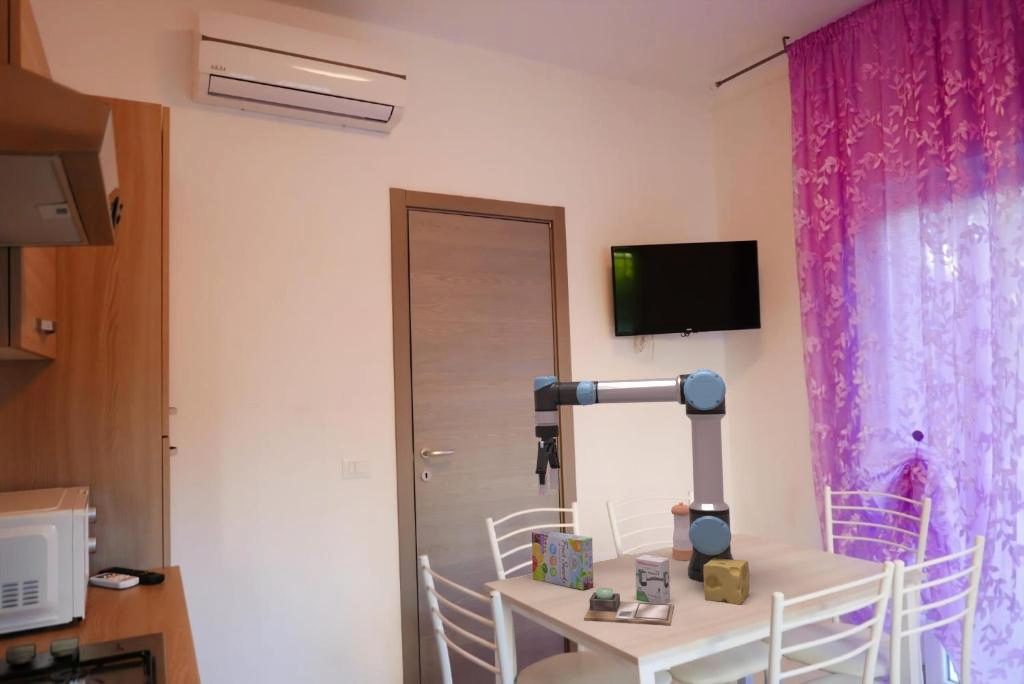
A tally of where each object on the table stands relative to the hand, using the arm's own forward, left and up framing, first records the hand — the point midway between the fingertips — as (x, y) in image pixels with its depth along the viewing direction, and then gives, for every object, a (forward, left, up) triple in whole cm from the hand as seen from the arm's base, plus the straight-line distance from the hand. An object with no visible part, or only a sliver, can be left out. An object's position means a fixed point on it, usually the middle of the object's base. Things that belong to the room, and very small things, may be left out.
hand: (549, 492), depth 228 cm
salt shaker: (-39, -36, -28) cm, 60 cm away
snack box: (-4, +2, -28) cm, 28 cm away
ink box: (-33, +15, -28) cm, 45 cm away
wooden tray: (-28, +28, -28) cm, 48 cm away
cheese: (-53, +9, -28) cm, 60 cm away
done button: (-21, +25, -25) cm, 42 cm away
